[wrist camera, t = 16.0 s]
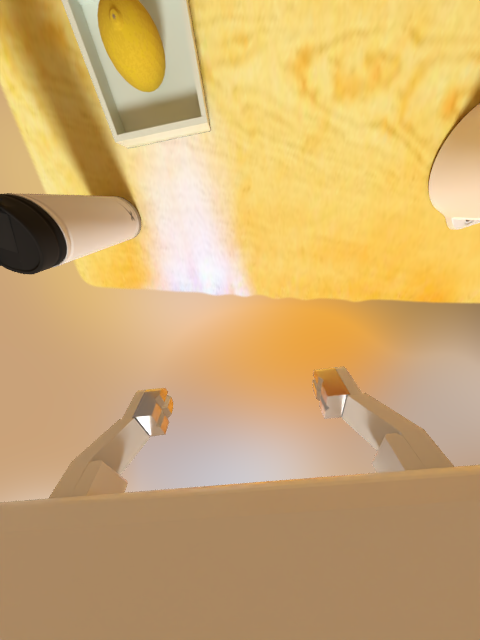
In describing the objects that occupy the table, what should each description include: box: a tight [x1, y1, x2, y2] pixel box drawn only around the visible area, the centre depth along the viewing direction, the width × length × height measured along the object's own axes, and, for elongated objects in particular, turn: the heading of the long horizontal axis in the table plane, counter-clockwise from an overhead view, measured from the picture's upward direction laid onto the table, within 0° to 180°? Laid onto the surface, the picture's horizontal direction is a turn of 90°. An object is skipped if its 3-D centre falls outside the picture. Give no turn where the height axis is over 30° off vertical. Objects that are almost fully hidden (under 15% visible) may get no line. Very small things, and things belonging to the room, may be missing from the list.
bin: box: [62, 0, 211, 148], centre depth 22 cm, size 12×12×3 cm
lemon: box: [97, 0, 166, 92], centre depth 19 cm, size 6×6×8 cm
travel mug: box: [0, 193, 141, 274], centre depth 23 cm, size 6×7×20 cm
